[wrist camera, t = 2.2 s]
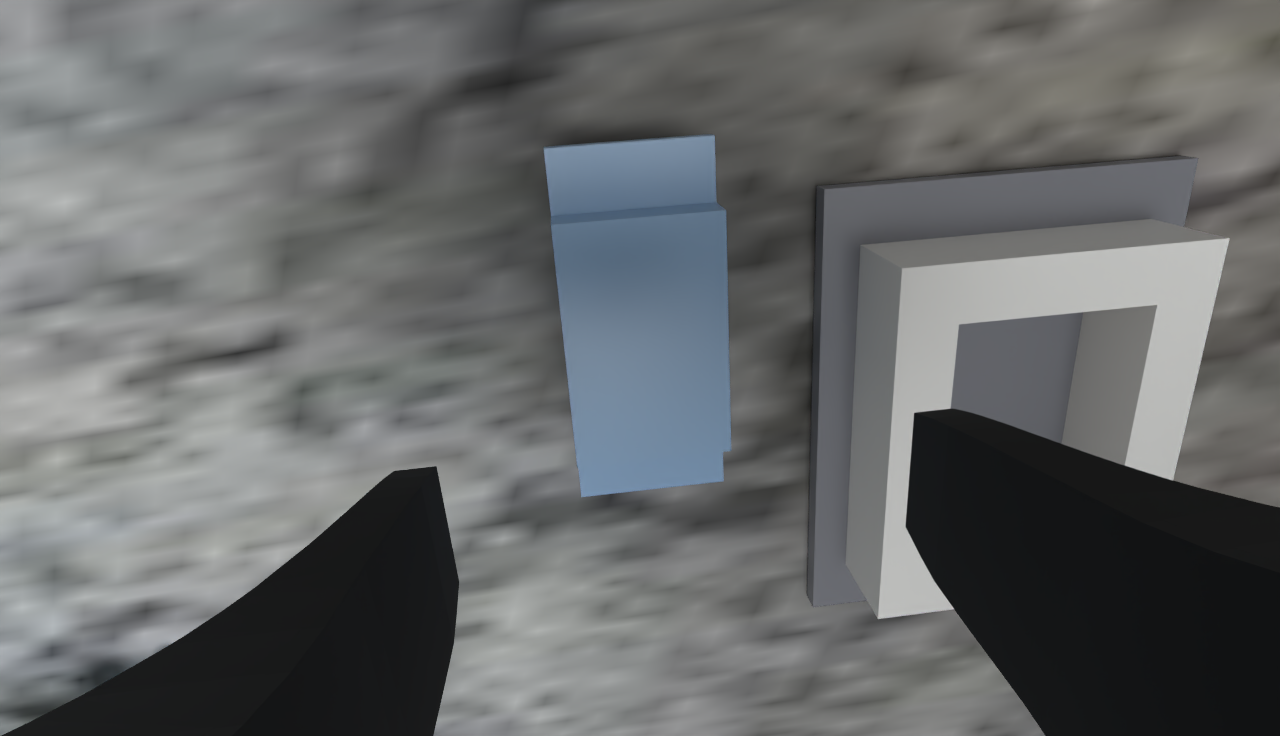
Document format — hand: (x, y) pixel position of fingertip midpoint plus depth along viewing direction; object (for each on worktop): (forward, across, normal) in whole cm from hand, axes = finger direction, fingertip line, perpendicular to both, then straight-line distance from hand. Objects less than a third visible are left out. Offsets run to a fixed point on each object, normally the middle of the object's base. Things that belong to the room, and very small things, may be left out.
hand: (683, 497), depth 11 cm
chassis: (+9, -10, +4) cm, 14 cm away
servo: (+10, 0, 0) cm, 10 cm away
